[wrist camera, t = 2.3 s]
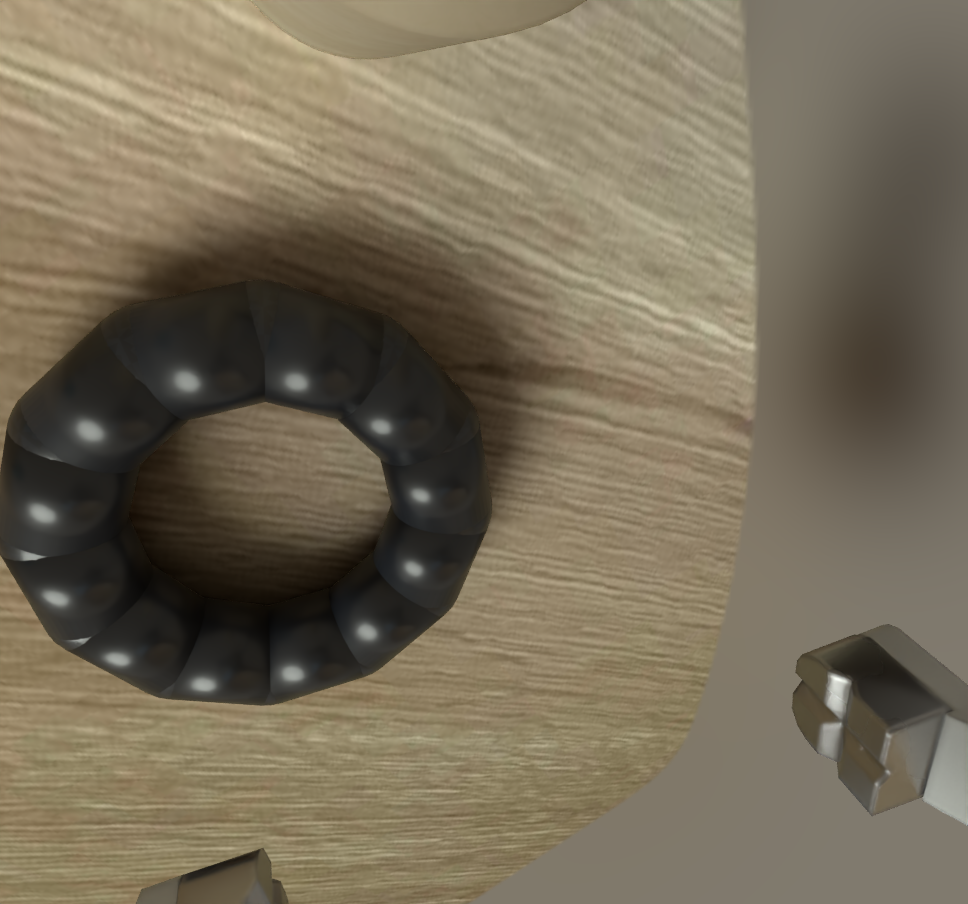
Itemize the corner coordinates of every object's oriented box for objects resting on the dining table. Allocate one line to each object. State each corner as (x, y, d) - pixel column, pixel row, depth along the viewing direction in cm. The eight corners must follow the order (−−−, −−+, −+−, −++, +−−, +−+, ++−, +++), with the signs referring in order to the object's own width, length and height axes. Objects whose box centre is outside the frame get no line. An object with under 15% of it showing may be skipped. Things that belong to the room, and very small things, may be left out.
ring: (437, 230, 17) (464, 252, 15) (496, 591, 22) (523, 647, 20) (-82, 334, 15) (-140, 379, 13) (125, 703, 20) (109, 779, 18)
